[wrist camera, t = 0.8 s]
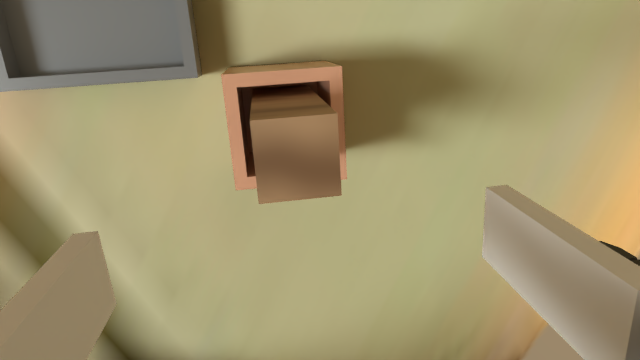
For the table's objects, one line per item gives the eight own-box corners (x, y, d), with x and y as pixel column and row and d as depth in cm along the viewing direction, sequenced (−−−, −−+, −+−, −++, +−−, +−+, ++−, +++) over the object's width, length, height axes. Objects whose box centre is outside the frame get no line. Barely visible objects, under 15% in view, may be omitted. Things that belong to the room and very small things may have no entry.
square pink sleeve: (329, 152, 45) (346, 179, 36) (240, 160, 44) (235, 190, 35) (324, 60, 42) (341, 66, 33) (228, 67, 41) (221, 74, 32)
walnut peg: (310, 137, 43) (341, 195, 27) (258, 141, 42) (258, 204, 26) (306, 84, 41) (337, 113, 25) (252, 88, 41) (249, 120, 25)
